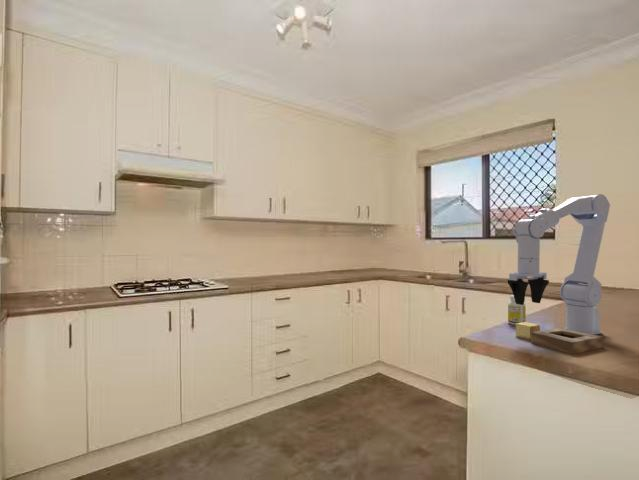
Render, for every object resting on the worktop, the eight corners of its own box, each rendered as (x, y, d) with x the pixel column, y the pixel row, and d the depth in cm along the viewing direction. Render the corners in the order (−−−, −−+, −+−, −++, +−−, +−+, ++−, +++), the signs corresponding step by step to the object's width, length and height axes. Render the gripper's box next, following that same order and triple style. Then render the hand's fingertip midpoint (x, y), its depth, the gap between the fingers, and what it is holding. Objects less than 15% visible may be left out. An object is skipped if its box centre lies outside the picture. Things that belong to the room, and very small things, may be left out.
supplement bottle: (519, 322, 128) (519, 294, 128) (528, 325, 123) (529, 297, 123) (504, 322, 128) (505, 294, 128) (513, 325, 122) (513, 297, 122)
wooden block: (525, 334, 111) (525, 321, 111) (539, 338, 107) (539, 325, 107) (515, 336, 109) (515, 323, 109) (529, 340, 105) (530, 326, 105)
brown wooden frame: (561, 337, 108) (561, 327, 108) (603, 347, 98) (603, 336, 98) (531, 342, 102) (531, 332, 102) (572, 354, 92) (572, 342, 92)
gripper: (531, 257, 115) (530, 299, 115) (500, 258, 108) (499, 302, 108) (553, 258, 108) (553, 303, 108) (522, 259, 102) (521, 306, 102)
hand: (527, 303), depth 108 cm, fingers open, 7 cm apart
